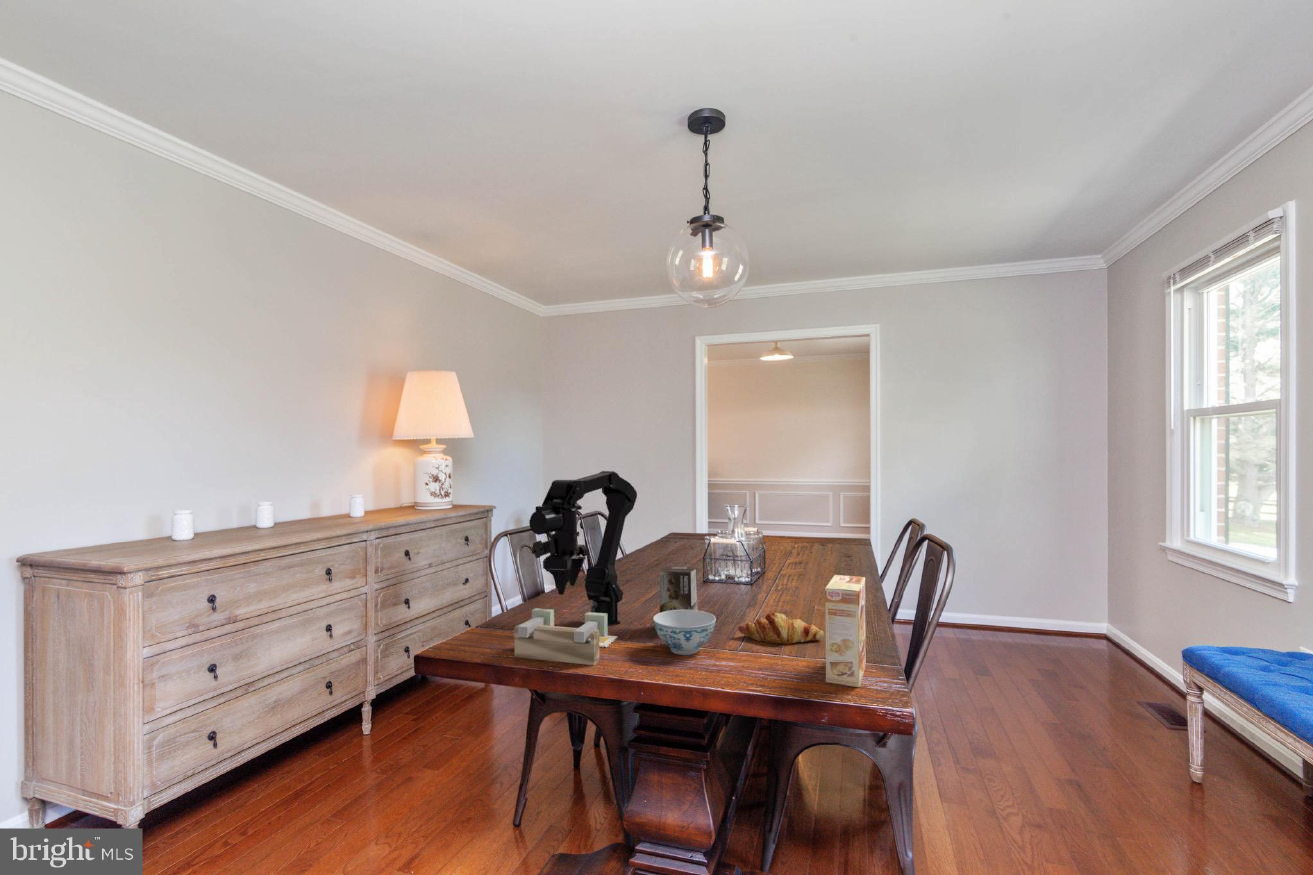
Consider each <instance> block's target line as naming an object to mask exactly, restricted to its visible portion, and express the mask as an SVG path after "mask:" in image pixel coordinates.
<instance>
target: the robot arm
mask: <svg viewBox="0 0 1313 875" xmlns="http://www.w3.org/2000/svg"><path fill="white" fill-rule="evenodd" d="M597 490H601V493H602V494H603V495H604V496H605V505H606V509H607V511H608V514H607V518H606V524H605V526H604V527H605V528H604V531H603V535H602V540H601V544H600V548H599V552H598V556H597V561H596V562H595V564H594V565H593V566H588V567H587V570H586V576H585V578H584V589H585V592H586V597H587V600H588V601H592V606H591V607H590V612H592V613H606V614H607V626H611V625H617V624H621V620H619V617H618V614H619V613H618V612H619V611H618V608H619V607H618V605H619V604H618V603H621V601H623V597H624V592H623V590H622V589H621V587H620V586H619V585H618V574H617V571H616V568H615V565H616V561H617V556H618V551H619V548H620V543H621V538H622V534H623V530H624V525H625V521H626V519H627V518H626V517H627V516H628V515H629V514H630V512H632V510H634V506H635V504H636V501H637V498H638V493H637V490H636V489H635V487H634V486H633V485H632V484H631V483H630V482H629V481H628V480H626V479H624V478H623V477H621V476H620V475H619V474H618V473H617V471H613V470H610V471H609V470H602V471H600V472H598V473H594V474H590V475H587V476H584V477H579V478H576V479H555V480H553V481H552V482H551V484H550V486H549V489H548V491H547V492H546V496H545V498H544V499H543V502H542V504H541V505H537V506H535V511H534V512H532V514H531V516H530V517H529V518H530V519H529V527H530V530H531V531H532V533H534V534H536V535H538V536H539V535H543V534H549V533H552V534H551V536H550V539H548V540H546V541H542V540H540V539H539V540H538V541H535V542H533V543H532V547H531V552H530V553H531V554H532V555H534V556H535V557H534V558H536V559H540V558H541V557H543V556H546V555H548V554H550V555H548V556H546V557H545V558H544V559H543V560H542V569H544V570H545V571H546V572H548V573H549V574H551V575H552V577H553V580H554V583H555V586H556V589H557V592H558V594H559V596H563V595H564V594H565V591H566V588H567V584H568V582H569V586H571V587H574V586H575V585H576V582H577V579H578V578H579V575H580V572H581V570H582V568H583V565H584V563H585V560H586V558H587V557H586V556H588V547H587V546H586V545H585V544H578V537H579V536H580V531H578V524H577V523H578V518H577V517H578V516H577V514H578V513H577V511H580V510H582V509H583V507H582V505H580V504H579V503H578V502H579V501H581V499H583V498H584V497H585V495H586V494H588V493H591V492H594V491H597Z"/></svg>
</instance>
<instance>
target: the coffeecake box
mask: <svg viewBox="0 0 1313 875" xmlns="http://www.w3.org/2000/svg"><path fill="white" fill-rule="evenodd" d="M824 591H825V595H824V596H825V597H824V598H825V600H824V602H825V604H824V605H825V607H824V608H825V610H824V611H825V612H824V613H825V683H827V684H828V683H829V684H837V685H840V686H841V685H843V686H848V687H856V688H861V685H862V681H863V677H864V673H865V669H866V665H867V661H866V660H867V657H866V656H867V655H866V647H867V646H866V642H867V641H866V577H865V576H858V575H857V576H856V575H855V576H854V575H842V574H841V575H840V574H834V575H833V576H832V578H831V579H830V580H829V582H828V583H827V585H826V586H825V588H824Z"/></svg>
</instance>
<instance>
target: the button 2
mask: <svg viewBox="0 0 1313 875" xmlns="http://www.w3.org/2000/svg"><path fill="white" fill-rule="evenodd" d="M577 628H578V629H576V630H575V631H574V642H581V643H584V642H586V641H587V640H588V639H590V633H591V632H593V631H594V630H599V637H605V636H606V635H608V636H609V634H608V625H607V614H606V613H592V612H591V611H588V612H586V613H584V624H582V625H581V626H579V627H577Z"/></svg>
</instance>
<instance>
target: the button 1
mask: <svg viewBox="0 0 1313 875" xmlns="http://www.w3.org/2000/svg"><path fill="white" fill-rule="evenodd" d="M520 624H521V623H520ZM539 625H545V626H555V609H552V608H550V609H548V608H537V607H535V608H533V609H532V610H531V618H530V619H528V620H527V621H525V622H523V623H522V624H521V625H520V626H518V637H525V638H528V637H529V636H531V635H534V628H536V627H537V626H539Z"/></svg>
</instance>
